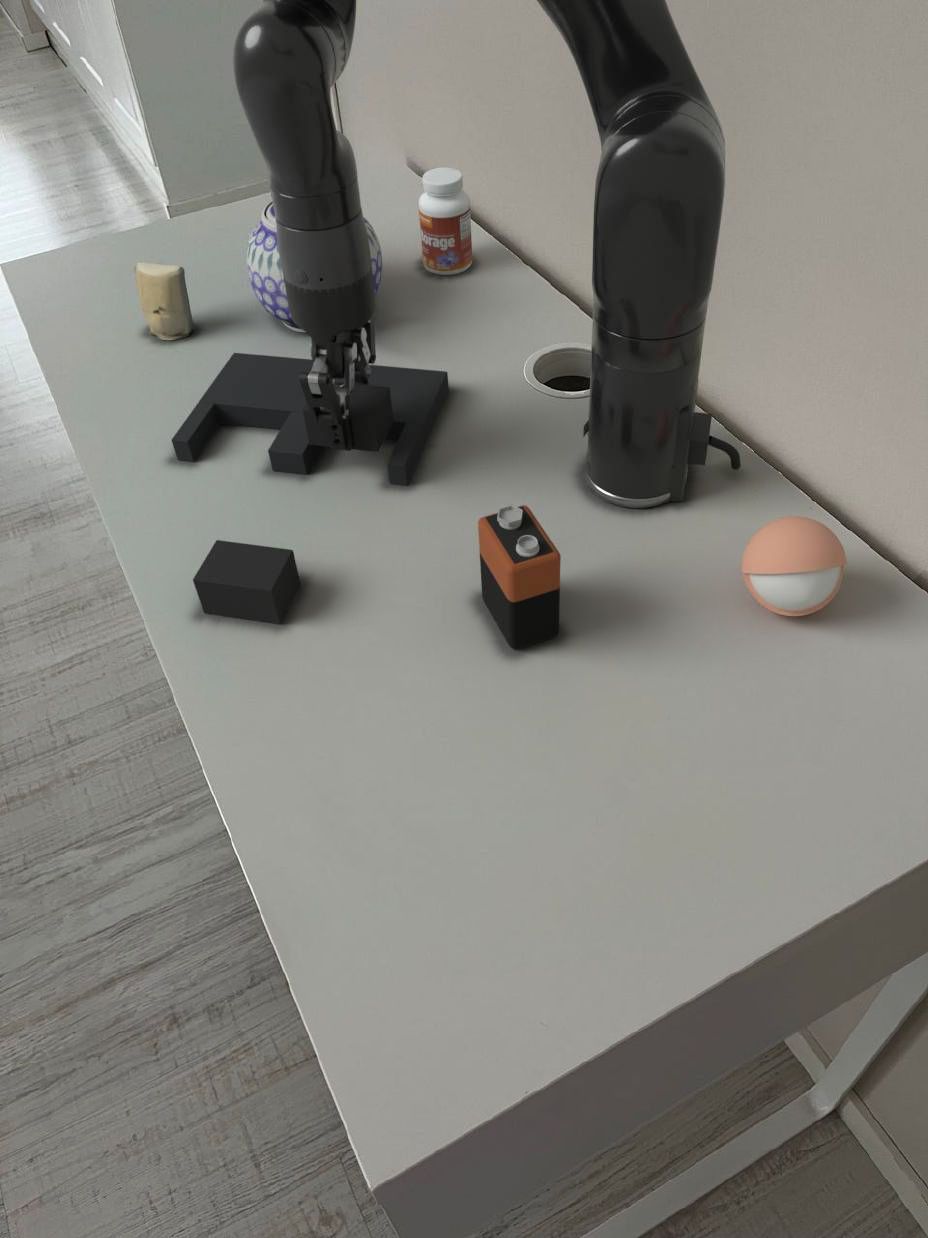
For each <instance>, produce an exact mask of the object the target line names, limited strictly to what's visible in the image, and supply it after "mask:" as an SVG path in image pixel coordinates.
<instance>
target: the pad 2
mask: <svg viewBox="0 0 928 1238" xmlns="http://www.w3.org/2000/svg"><path fill="white" fill-rule="evenodd" d="M337 383H342V382H337ZM336 395H337V398H338V401H339V405H340V396H339V395H338V394H336ZM349 398H350V418H351V425H352V431H353V438H354V446H353V448H352V450H353V451H361V452H370V453H371V452H372V453H380V451H381V449H382V447H383V445H384V442H385V439H386V437H387V434H388V432H389V430H390V428H391V426H392V424H393V422H394V421H393V412H392V404H391V395H390V388H389V387H383V386H372V385H362V384H355V388H354V391H353V392H351V393H350V395H349ZM303 415H304V420H305V425H306V430H307V435H308V441H309V445H316V446H322V447H325V448H326V447H328V448H332V447H331V446H330V442H329V436H328V430H327V425H326V424H325V423H315V422H313V419H312V417H311V414H310V411H309V408H308V405H307V403H306V405H305V407H304V408H303ZM352 450H351V451H352Z"/></svg>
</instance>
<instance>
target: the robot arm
mask: <svg viewBox="0 0 928 1238" xmlns="http://www.w3.org/2000/svg"><path fill="white" fill-rule="evenodd" d="M536 2H537V3H538V4H539V6H540V7H541V9H542V10H543V11H544V12H545V14H546V16H547V17H548V18H549V20H550V21H551V22H552V24H553V25H554V27H555V28H556V29H557V31H558V32H559V34H560V36H561V37H562V39H563V41H564V42H565V44H566V45H567V47H568V50H569V52H570V54H571V55H572V57H573V60H574V62H575V65H576V67H577V70H578V73H579V75H580V77H581V81H582V84H583V86H584V89H585V92H586V95H587V98H588V101H589V105H590V107H591V110H592V114H593V117H594V121H595V125H596V129H597V132H598V136H599V141H600V146H601V154H600V159H599V163H598V167H597V172H596V178H595V184H594V185H595V186H594V201H593V227H592V228H593V229H592V263H591V264H592V266H591V267H592V268H591V269H592V270H591V288H592V293H593V294H592V295H593V302H592V326H591V327H592V328H591V329H592V330H591V348H590V349H591V352H590V376H589V400H588V401H589V402H588V403H589V404H588V419H587V421H585V424H584V425H583V432H582V433H583V434H582V435H583V436H582V437H583V439H584V438H585V437H586V435H587V452H586V463H585V481H586V484H587V486H588V487H589V489H590V490H591V491H592V493H594V494H595V496H597V497H599V498H600V499H602V500H604V501H606V502H608V503H611V504H613V505H616V506H619V507H626V508H635V509H636V508H637V509H638V508H640V509H641V508H650V507H656V506H660V505H663V504H665V503H669V502H677V503H678V502H679V503H680V502H682V501H683V499H684V494H685V493H684V492H685V486H686V485H687V484H686V483H687V480H688V470H689V469H688V466H689V465H694V466H695V465H697V466H706V462H707V456H708V450H709V449H708V448H709V446H710V447H711V448H715V449H717V450H720V451H722V452H724V453H725V454H727V456H728V457H729V458H730V467H731V469H732V470H734V471H736V470H739V469H741V466H742V465H741V455H740V453H739V450H738V449H737V448H736V447H735V446H734V445H732V444H731V443H729V442H727V441H725V440H723V439H720V438H718V437H715V436H713V435H711V434H710V433H711V428H712V427H711V426H712V418H713V413H707V412H696V404H697V397H698V395H697V394H698V390H699V389H698V388H699V375H700V367H701V359H702V352H703V343H704V336H705V327H706V320H707V315H708V314H707V313H708V307H709V301H710V300H709V299H710V295H711V292H712V288H713V282H714V273H715V266H716V259H717V252H718V245H719V238H720V230H721V223H722V216H723V208H724V199H725V190H726V140H725V136H724V131H723V128H722V127H723V126H722V124H721V121H720V119H719V116H718V115H717V111H715V108H714V106H713V104H712V102H711V100H710V98H709V96H708V93H707V91H706V90H705V88H704V86H703V83H702V82H701V79H700V77H699V75H698V73H697V71H696V69H695V67H694V64H693V62H692V60H691V57H690V56H689V53H688V51H687V49H686V46H685V45H684V42H683V40H682V38H681V35H680V33H679V31H678V29H677V26H676V24H675V21H674V19H673V16H672V13H671V11H670V9H669V5H668V2H667V0H536ZM356 18H357V0H263V1H262V4H261V5H259V6H258V8H257V9H255V10H254V12H252V13H251V14H250V15H249V16H248V17H247V18H245V19H246V20H245V21H243V23H242V24H241V26H240V28H239V29H238V31H237V34H236V36H235V40H234V43H233V44H234V45H233V53H232V54H233V55H232V62H233V63H232V64H233V74H234V75H233V76H234V83H235V88H236V92H237V96H238V99H239V102H240V106H241V108H242V110H243V113H244V116H245V118H246V121H247V123H248V126H249V130H250V132H251V133H252V137H253V139H254V142H255V145H256V146H257V148H258V151H259V152H260V154H261V157H262V159H263V161H264V163H265V166H266V170H267V171H266V172H267V179H268V186H269V191H270V195H271V202H273V207H274V213H275V218H276V228H277V245H278V251H279V256H280V261H281V267H282V272H283V278H284V283H285V288H286V293H287V299H288V304H289V309H290V315H291V318H292V320H293V322H294V323H295V324H296V325H297V326H298V327H299V328H301V329H302V330H304V331H305V332H304V333H306V334H307V335H308V336H309V338H311V341H310V358H311V360H313V362H314V364H313V367H312V369H311V372H310V371H301V373H300V384H301V387H302V390H303V393H304V396H305V399H306V402H307V405H308V408H309V411H310V414H311V417H312V419H313V422H315V423H325V424H326V425H327V430H328V436H329V442H330V446H331V447H330V448H331V449H332V450H339V451H346V452H351V451H352V448H353V446H354V438H353V431H352V425H351V418H350V398H349V395H350V393H351V392H353V391H354V388H355V384H362V385H369V382H368V380H369V379H370V376H371V368H370V365H375V363H376V361H377V354H376V350H377V349H376V329H375V326H376V325H375V314H376V311H377V298H376V295H375V289H374V281H373V273H372V264H371V256H370V248H369V240H368V233H367V229H366V225H365V221H364V218H365V216H364V214H363V209H362V208H363V207H362V202H361V193H360V185H359V177H358V169H357V162H356V157H355V152H354V149H353V147H352V145H351V142H350V140H349V139H348V137H347V136H346V135H345V134H343V133H342V132H341V131H339V130H338V129H337V126H336V121H335V117H334V112H333V106H332V93H331V91H332V87H333V86H334V85H335V83H336V82H337V81H338V80H339V78H340V77H341V76H342V74H343V72H344V71H345V69H346V67H347V64H348V61H349V59H350V55H351V51H352V46H353V43H354V35H355V30H356V29H355V28H356ZM332 378H338V379H342V378H345V382H344V383H337V382H335V380H334V379H332ZM336 394H338V395H339V396H340V405H339V401H338V398H337V395H336Z"/></svg>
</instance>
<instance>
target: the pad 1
mask: <svg viewBox="0 0 928 1238" xmlns="http://www.w3.org/2000/svg"><path fill="white" fill-rule="evenodd" d="M192 583H193V584H194V587H195V591H196V593H197V598H198V599H199V602H200V605H201V608H202V612H203V613H204V614H208V615H215V616H222V617H228V618H237V619H241V620H242V619H243V620H249V621H256V622H261V623H269V624H277V625H281V624H282V622H283V620H284V618H285V616H286V614H287V612H288V610H289V608H290V606H291V604H292V602H293V600H294V598H295V596H296V594H297V593H298V590H299V588H300V586H301V584H302V583H301V579H300V574H299V571H298V565H297V562H296V558H295V553H294V550H293V549H289V548H283V547H275V546H266V545H259V544H251V543H242V542H235V541H226V540H220V539H217V540H215V542H214V544H213V545H212V547H211V549H210V550H209V551H208V554H207V555H206V556H205V559H204V560H203V561H202V564H201V565H200V567H199V568H198V570H197V572H196V573H195V575H194V577H193V578H192Z"/></svg>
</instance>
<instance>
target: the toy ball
mask: <svg viewBox="0 0 928 1238" xmlns="http://www.w3.org/2000/svg"><path fill="white" fill-rule="evenodd" d="M743 551H744V552H743V555H742V560H741V572H742V575H743V576H742V577H743V580H744V583H745V586H746V588H747V590H748V592H749V593H750V595H751V596H752V597H753V599H754V600H755V601H756V602H757V603H758V604H759V605H760V606H762V607H763V608H765V609H766V610H769V611H770V612H772V613H774V614H778V615H781V616H787V617H801V616H806V615H810V614H813V613H815V612H817V611H819V610H821V609H823V608H824V607H825V606H826V605H828V604H829V603H830V602H831V601H832V600H833V598H835V596H837V593H838V591H839V589H840V587H841V585H842V583H843V578H844V573H845V565H847V564H848V561H847V560H848V559H847V555H846V551H845V548H844V546H843V544H842V542H841V541H840V539H839V537H838V536H837V535H836V533H835V532H834V531H832V530H831V528H829V527H828V526H827V525H825V524H824V523H822V522H821V521H818V520H816V519H813V518H810V517H804V516H797V515H795V516H794V515H793V516H792V515H791V516H784V517H780V518H778V519H774V520H771V521H770V522H768V523H766V524H765V525H763V526H762V527H760V528H759V529H758V530H757V531H756V532H755V533H754V534H753V535H752V537H751V538H750V539H749V541H748V542H747V544H746V546H745V549H744V550H743Z"/></svg>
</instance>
